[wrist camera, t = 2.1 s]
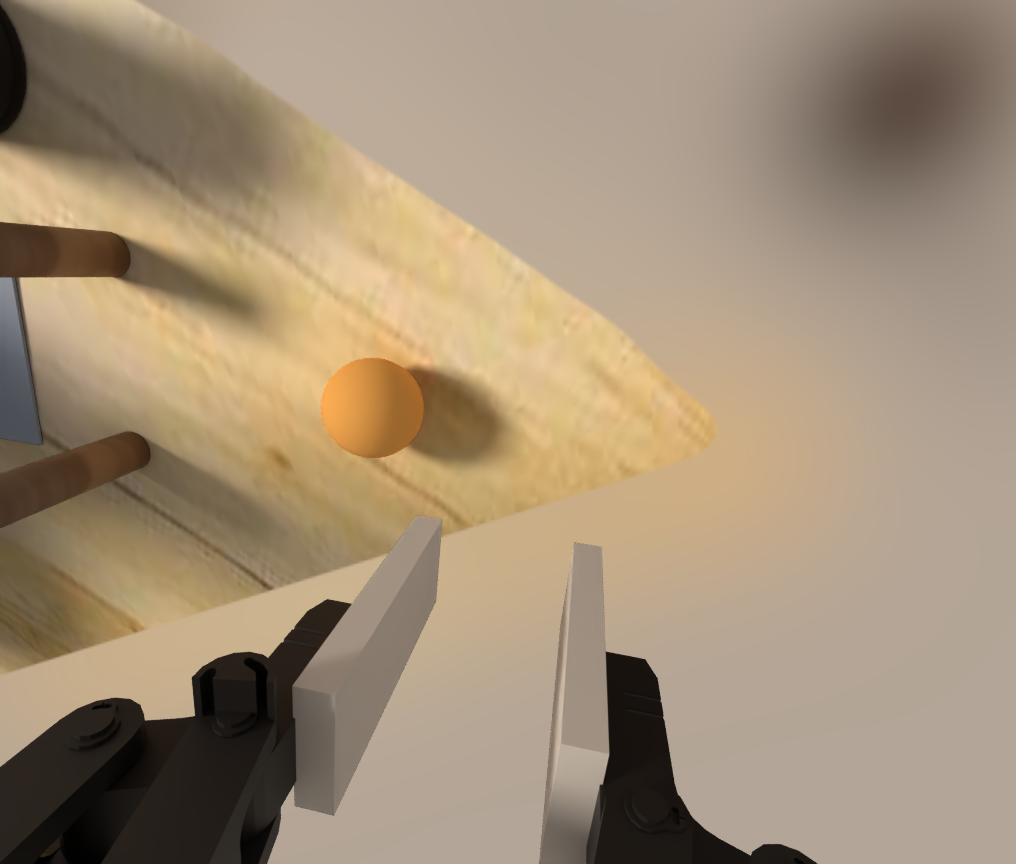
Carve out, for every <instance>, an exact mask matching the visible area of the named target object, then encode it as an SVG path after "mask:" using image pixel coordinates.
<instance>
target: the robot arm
mask: <svg viewBox="0 0 1016 864" xmlns="http://www.w3.org/2000/svg"><path fill="white" fill-rule="evenodd" d="M441 530H442V519H436V518H430V517H424V516H418V515H416V517H415V518H414V519H413V521H412V522H411V523H410V525H409V526H408V528H407V529H406V530H405V532H404V533H403V534H402V536H401V537H400V539H399V540H398V541H397V543H396V544H395V545H394V547H393V548H392V550H391V551H390V552H389V554H388V555H387V557H386V558H385V559H384V561H383V562H382V564H381V565H380V566H379V568H378V569H377V570H376V572H375V573H374V574H373V576H372V577H371V578H370V580H369V582H368V583H367V584H366V585H365V587H364V588H363V590H362V591H361V592H360V594H359V595H358V596H357V598H356V599H355V600H354V602H353V603H352V604H349V603H344V602H339V601H334V600H328V599H327V600H325V601H324V602H322V603H320V604H319V605H317V606H315V607H314V608H312V609H310V610H309V611H307V613H306V614H305V615H304V616H303V617H302V618H301V620H300V621H299V622H298V623H297V624H296V626H295V628H294V630H291V632H290V633H289V634H288V635H287V636H286V637H285V639H284V642H283V643H280V645H279V646H278V647H277V648H276V649H275V650H274V652H273V653H272V654H271V655H270V656H269V658H267V657H266V656H264V655H262V654H257V653H253V652H242V653H232V654H230V655H226V656H223V657H219V658H217V659H215V660H213V661H212V662H210V663H208V664H207V665H205V666H203V667H202V668H201V669H200V670H199V671H198V672H197V673H196V674H195V675H194V676H193V677H192V686H193V696H194V708H195V716H193V717H186V718H178V719H177V718H176V719H163V720H147V721H145V719H144V714H143V711H142V708H141V706H140V705H139V704H137V703H136V702H134V701H133V700H131V699H123V698H111V699H105V700H99V701H95V702H93V703H90V704H88V705H85V706H83V707H80V708H78V709H76V710H75V711H73V712H72V713H70V714H69V715H67V716H65V717H64V718H62V719H60V720H59V721H58V722H57V723H55V724H54V725H53V726H52V727H50V728H49V729H48V730H46V731H45V732H44V733H43V734H41V735H40V736H39V737H38V738H36V739H35V740H34V741H33V742H31V743H30V744H29V745H28V746H26V747H25V748H24V749H22V750H21V751H20V752H19V753H17V754H16V755H15V756H14V757H12V758H11V759H10V760H9V761H7V762H6V763H5V764H4V765H2V766H1V767H0V864H267V862H268V859H269V856H270V854H271V851H272V848H273V846H274V843H275V840H276V838H277V835H278V832H279V826H280V820H281V806H282V804H283V802H284V801H285V799H286V797H287V795H288V794H289V792H290V790H291V789H292V787H293V785H294V798H295V799H294V800H295V806H296V807H300V808H305V809H309V810H313V811H317V812H321V813H325V814H329V815H334V814H335V812H336V810H337V808H338V806H339V804H340V801H341V800H342V797H343V796H344V793H345V791H346V789H347V787H348V785H349V783H350V781H351V778H352V776H353V774H354V772H355V770H356V768H357V766H358V764H359V762H360V760H361V758H362V756H363V753H364V751H365V749H366V747H367V745H368V743H369V741H370V739H371V737H372V734H373V732H374V730H375V728H376V726H377V724H378V722H379V720H380V718H381V716H382V713H383V712H384V709H385V707H386V705H387V703H388V701H389V699H390V697H391V695H392V692H393V691H394V688H395V686H396V684H397V682H398V680H399V678H400V676H401V674H402V672H403V670H404V667H405V665H406V663H407V661H408V659H409V657H410V655H411V653H412V651H413V649H414V646H415V644H416V642H417V640H418V638H419V636H420V634H421V632H422V630H423V628H424V625H425V623H426V621H427V619H428V617H429V615H430V612H431V611H432V609H433V607H434V604H435V602H436V594H437V581H438V580H437V579H438V567H439V555H440V543H441V542H440V541H441ZM660 700H661V697H660V691H659V685H658V678H657V677H656V675H655V674H654V672H653V671H652V669H651V668H650V666H649V664H648V663H647V661H646V660H645V659H641V658H636V657H631V656H626V655H621V654H615V653H610V652H606V650H605V625H604V596H603V568H602V547H599V546H593V545H587V544H581V543H576V542H575V543H574V547H573V552H572V559H571V565H570V571H569V577H568V583H567V589H566V595H565V601H564V607H563V613H562V619H561V626H560V636H559V648H558V660H557V670H556V682H555V692H554V703H553V714H552V726H551V737H550V748H549V760H548V770H547V781H546V793H545V804H544V815H543V826H542V837H541V848H540V861H539V864H817V863H816V862H814V861H813V860H811V859H810V858H808V857H807V856H805V855H804V854H803V853H801V852H800V851H798V850H795V849H792V848H789V847H787V846H784V845H781V844H764V845H762V846H761V847H759V848H757V849H756V850H754V851H753V852H752V855H751V856H750V855H748V854H746V853H745V852H743V851H741V850H739V849H737V848H735V847H734V846H732V845H730V844H728V843H726V842H724V841H723V840H721V839H719V838H717V837H716V836H714V835H713V834H711V833H710V832H708V831H707V830H705V829H704V828H703V827H702V826H701V825H700V824H699V823H698V822H697V821H695V820H694V819H693V818H692V816H691V815H690V813H689V811H688V810H687V808H686V806H685V804H684V802H683V801H682V799H681V797H680V796H679V795H678V794H677V790H676V787H675V783H674V777H673V771H672V765H671V759H670V752H669V746H668V740H667V734H666V728H665V721H664V719H663V709H662V703H661V702H660Z"/></svg>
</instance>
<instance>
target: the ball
mask: <svg viewBox="0 0 1016 864" xmlns="http://www.w3.org/2000/svg"><path fill="white" fill-rule="evenodd" d="M321 415H322V420H323V423H324V426H325V428H326V430H327V432H328V433H329V435H330V436H331V438H332V439H333V440H334V441H335V442H336V443H337V444H338V445H339V446H340V447H341V448H343V449H344V450H346V451H348V452H350V453H352V454H355V455H358V456H361V457H367V458H380V457H385V456H388V455H392V454H394V453H396V452H398V451H400V450H401V449H403V448H404V447H406V446H407V445H408V444H409V443H410V442H411V441H412V440H413V439H414V437H415V436H416V434H417V433H418V431H419V429H420V427H421V424H422V420H423V416H424V402H423V396H422V393H421V390H420V388H419V386H418V384H417V382H416V381H415V379H414V378H413V377H412V376H411V375H410V373H409V372H407V371H406V370H405V369H404V368H402V367H401V366H399V365H398V364H396V363H393V362H391V361H388V360H385V359H380V358H364V359H360V360H356V361H353V362H350V363H349V364H347V365H345V366H343V367H342V368H340V369H339V370H338V371H337V372H336V373H335V374H334V375H333V376H332V377H331V379H330V380H329V381H328V383H327V385H326V387H325V389H324V392H323V395H322V400H321Z"/></svg>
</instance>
